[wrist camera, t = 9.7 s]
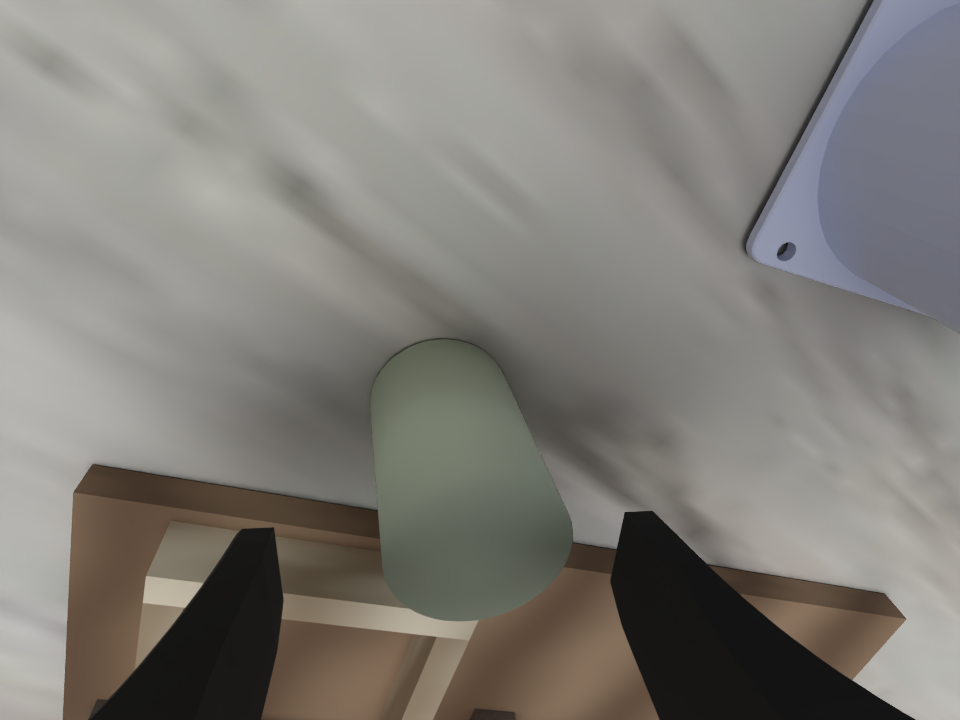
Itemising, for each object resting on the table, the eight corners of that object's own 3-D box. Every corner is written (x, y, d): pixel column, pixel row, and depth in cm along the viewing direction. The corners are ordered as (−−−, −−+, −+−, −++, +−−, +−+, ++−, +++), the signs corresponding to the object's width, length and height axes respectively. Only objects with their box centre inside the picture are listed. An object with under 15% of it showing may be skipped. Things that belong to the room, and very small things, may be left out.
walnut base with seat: (885, 594, 25) (946, 666, 22) (729, 777, 30) (763, 854, 28) (92, 465, 18) (36, 547, 15) (75, 735, 23) (31, 833, 20)
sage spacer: (499, 326, 17) (567, 456, 12) (513, 441, 19) (577, 594, 14) (355, 355, 17) (362, 503, 12) (385, 470, 19) (402, 640, 14)
